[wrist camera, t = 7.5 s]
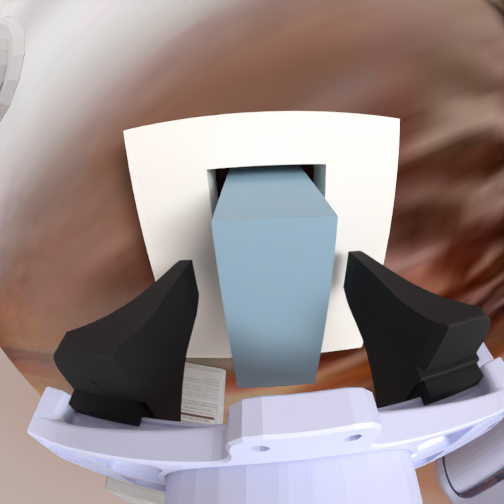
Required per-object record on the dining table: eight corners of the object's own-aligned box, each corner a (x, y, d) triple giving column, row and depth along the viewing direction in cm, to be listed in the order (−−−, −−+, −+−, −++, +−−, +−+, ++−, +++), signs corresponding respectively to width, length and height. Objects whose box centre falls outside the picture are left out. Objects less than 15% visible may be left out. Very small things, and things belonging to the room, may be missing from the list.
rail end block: (296, 291, 17) (314, 383, 11) (241, 294, 18) (237, 387, 11) (298, 164, 13) (337, 215, 7) (229, 167, 14) (210, 221, 7)
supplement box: (218, 406, 25) (210, 519, 14) (147, 392, 24) (122, 501, 13) (229, 367, 21) (221, 515, 10) (141, 349, 20) (100, 489, 9)
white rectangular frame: (352, 322, 19) (361, 347, 17) (187, 331, 19) (181, 357, 17) (376, 115, 12) (399, 118, 10) (143, 125, 12) (123, 130, 10)
